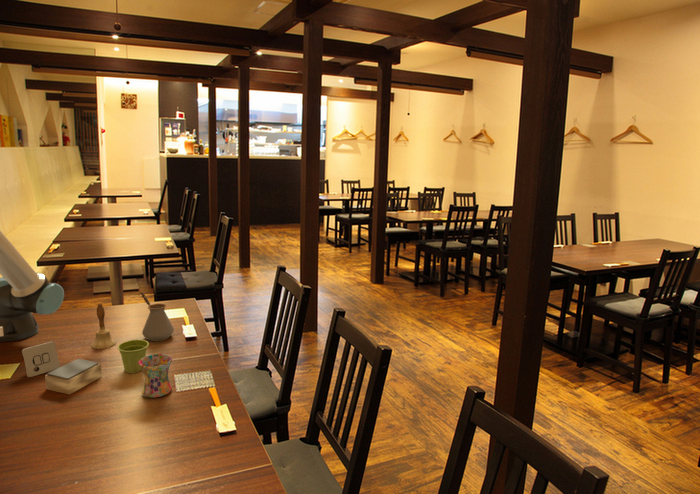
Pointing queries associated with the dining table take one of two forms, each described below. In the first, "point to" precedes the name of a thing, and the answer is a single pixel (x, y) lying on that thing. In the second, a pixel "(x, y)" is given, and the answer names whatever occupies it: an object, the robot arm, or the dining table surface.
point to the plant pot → (133, 354)
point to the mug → (156, 375)
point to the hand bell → (102, 332)
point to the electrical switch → (40, 359)
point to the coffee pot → (157, 322)
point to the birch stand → (73, 376)
